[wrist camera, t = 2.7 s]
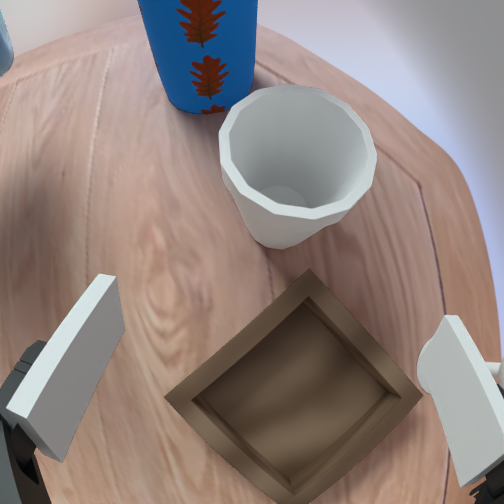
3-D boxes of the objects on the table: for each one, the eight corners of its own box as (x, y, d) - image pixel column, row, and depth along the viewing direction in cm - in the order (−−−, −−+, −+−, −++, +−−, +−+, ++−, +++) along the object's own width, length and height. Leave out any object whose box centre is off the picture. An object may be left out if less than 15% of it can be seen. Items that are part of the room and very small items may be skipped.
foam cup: (245, 279, 29) (246, 240, 16) (215, 188, 31) (200, 103, 18) (341, 247, 30) (402, 193, 17) (306, 163, 32) (337, 76, 19)
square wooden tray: (175, 386, 26) (163, 396, 22) (299, 277, 29) (309, 268, 25) (286, 491, 24) (292, 514, 20) (400, 388, 27) (423, 395, 22)
